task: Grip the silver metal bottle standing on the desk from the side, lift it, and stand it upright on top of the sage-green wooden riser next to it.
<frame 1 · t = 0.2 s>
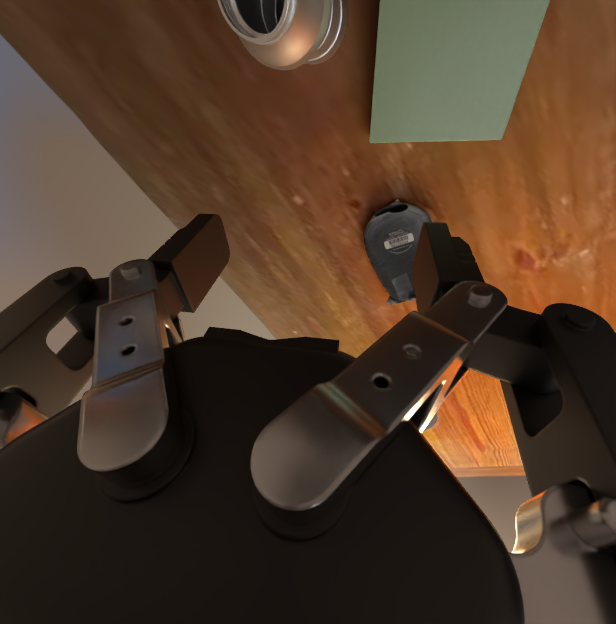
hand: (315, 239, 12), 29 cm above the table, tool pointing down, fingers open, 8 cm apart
silver metal bottle: (316, 18, 28), on the table
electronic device: (402, 248, 43), on the table
riser: (448, 27, 27), on the table
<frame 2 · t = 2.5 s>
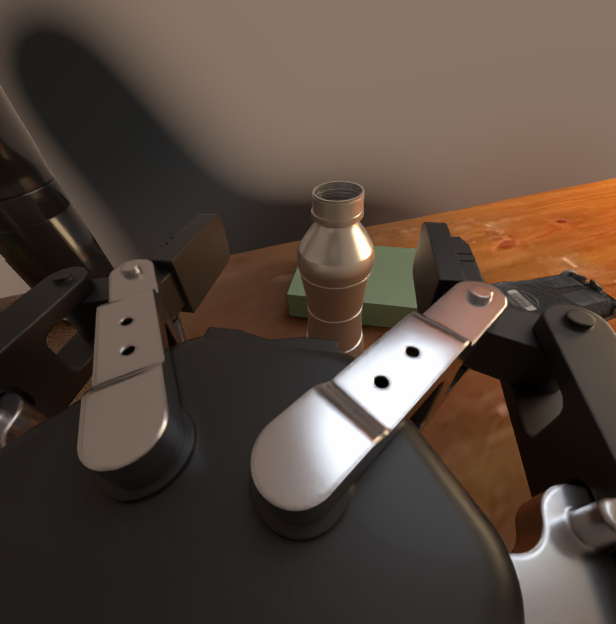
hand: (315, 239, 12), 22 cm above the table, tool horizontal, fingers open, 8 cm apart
silver metal bottle: (333, 359, 35), on the table
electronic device: (531, 312, 38), on the table
riser: (355, 291, 43), on the table
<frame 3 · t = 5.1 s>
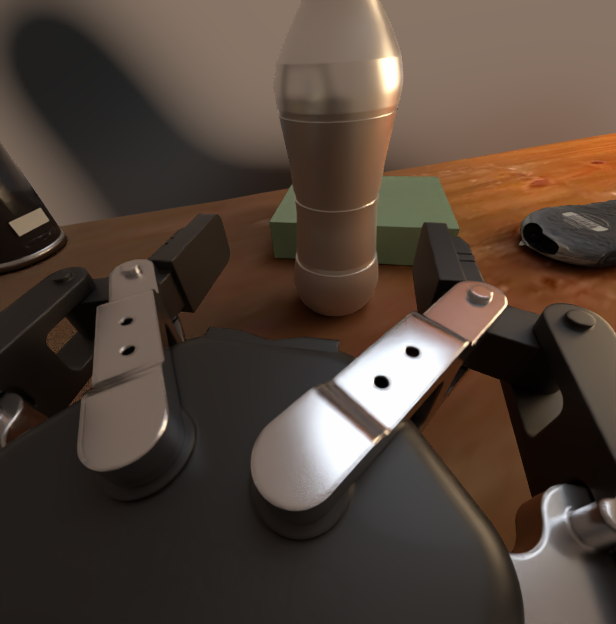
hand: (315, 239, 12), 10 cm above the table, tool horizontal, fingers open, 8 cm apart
silver metal bottle: (335, 302, 25), on the table
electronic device: (592, 244, 29), on the table
riser: (359, 231, 33), on the table
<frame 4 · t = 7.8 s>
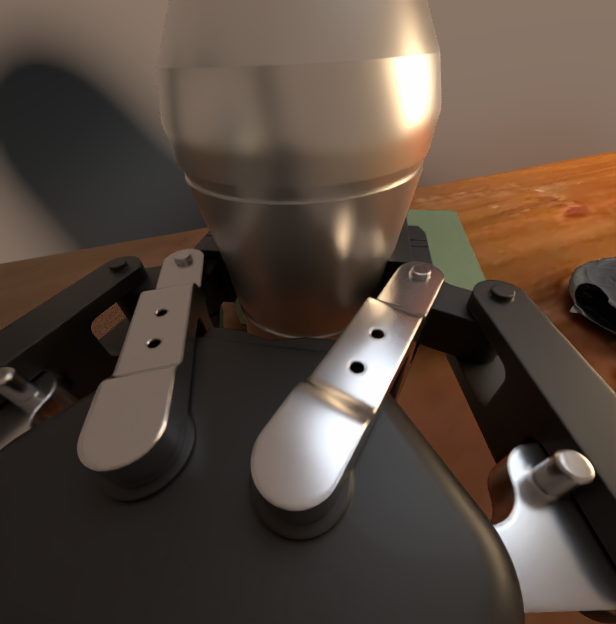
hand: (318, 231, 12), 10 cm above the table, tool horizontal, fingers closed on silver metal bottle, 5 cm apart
silver metal bottle: (316, 408, 17), on the table, touching gripper
riser: (354, 281, 26), on the table
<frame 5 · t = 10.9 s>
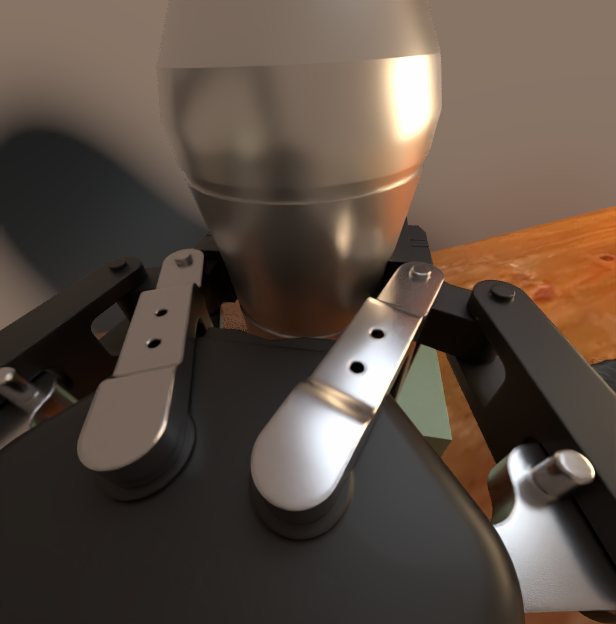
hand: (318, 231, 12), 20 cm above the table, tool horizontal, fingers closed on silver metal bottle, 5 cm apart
silver metal bottle: (316, 408, 17), point 9 cm above the table, touching gripper
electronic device: (606, 418, 25), on the table
riser: (341, 380, 29), on the table
when the fingers open (14 cm above the table, at t = 14.3 s): silver metal bottle stays where it is, resting on riser.
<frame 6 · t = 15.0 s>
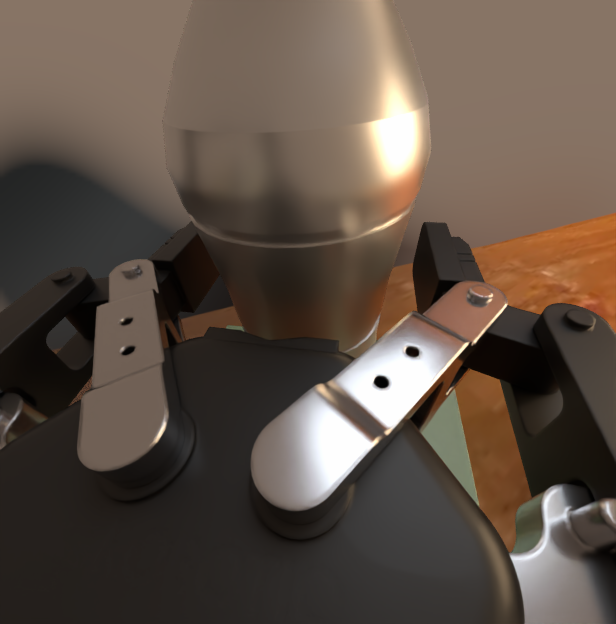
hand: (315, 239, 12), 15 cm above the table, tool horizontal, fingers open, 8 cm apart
silver metal bottle: (317, 417, 18), point 4 cm above the table, touching riser
riser: (318, 440, 20), on the table
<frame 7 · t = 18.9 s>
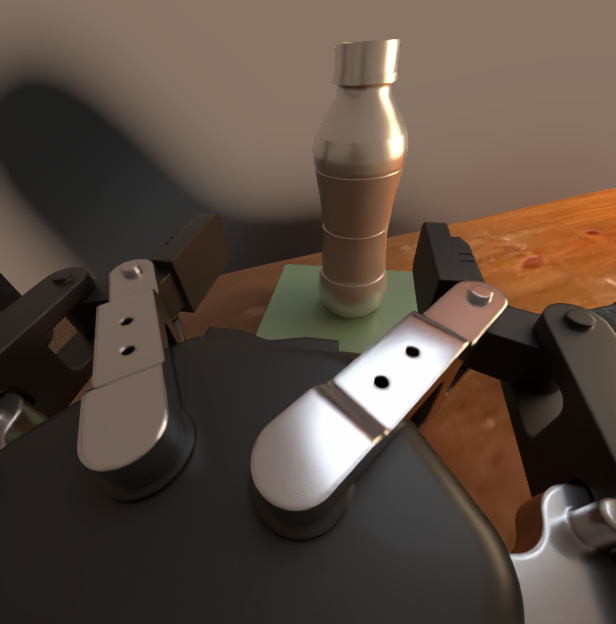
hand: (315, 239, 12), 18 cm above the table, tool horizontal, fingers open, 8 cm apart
silver metal bottle: (350, 306, 30), point 4 cm above the table, touching riser
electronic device: (583, 357, 29), on the table
riser: (347, 329, 33), on the table
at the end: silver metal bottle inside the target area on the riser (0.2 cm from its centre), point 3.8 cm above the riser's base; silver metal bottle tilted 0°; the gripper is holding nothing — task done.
